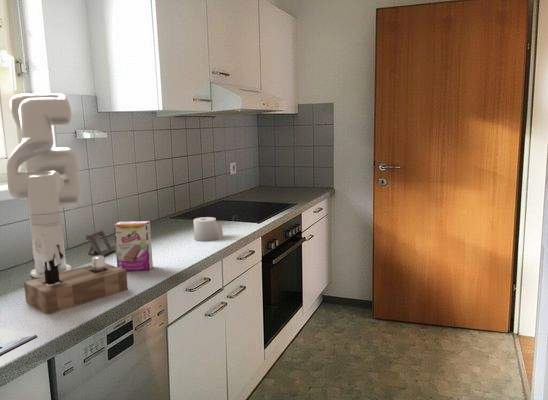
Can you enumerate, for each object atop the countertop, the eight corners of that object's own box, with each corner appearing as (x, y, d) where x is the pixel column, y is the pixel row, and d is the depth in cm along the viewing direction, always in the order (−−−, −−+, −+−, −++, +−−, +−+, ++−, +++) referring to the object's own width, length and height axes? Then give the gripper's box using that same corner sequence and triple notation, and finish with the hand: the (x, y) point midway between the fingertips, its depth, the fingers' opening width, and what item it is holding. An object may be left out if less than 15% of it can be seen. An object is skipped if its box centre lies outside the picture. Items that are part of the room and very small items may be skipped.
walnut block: (26, 302, 138) (23, 282, 137) (103, 280, 155) (102, 262, 154) (48, 314, 128) (45, 292, 127) (127, 289, 146) (126, 270, 145)
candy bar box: (117, 271, 164) (113, 224, 161) (121, 267, 168) (117, 221, 166) (150, 270, 164) (146, 223, 161) (153, 266, 169) (150, 220, 166)
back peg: (90, 275, 146) (89, 257, 145) (101, 272, 149) (100, 254, 148) (96, 277, 144) (95, 259, 143) (107, 274, 146) (106, 256, 146)
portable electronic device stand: (103, 257, 182) (101, 235, 181) (84, 256, 184) (82, 235, 183) (115, 251, 191) (114, 230, 189) (98, 250, 193) (96, 229, 191)
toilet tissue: (227, 236, 209) (227, 217, 208) (203, 242, 200) (202, 222, 198) (214, 233, 215) (213, 214, 214) (190, 239, 206) (189, 219, 205)
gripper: (20, 218, 135) (27, 281, 138) (43, 224, 125) (51, 292, 128) (47, 214, 140) (54, 274, 143) (72, 219, 130) (78, 284, 133)
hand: (52, 282), depth 135 cm, fingers closed
